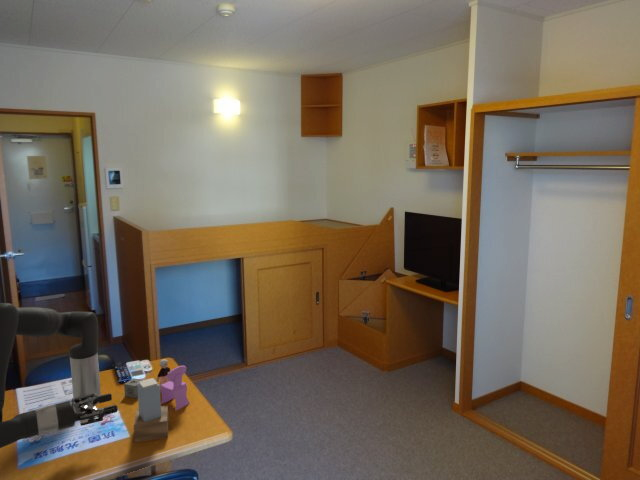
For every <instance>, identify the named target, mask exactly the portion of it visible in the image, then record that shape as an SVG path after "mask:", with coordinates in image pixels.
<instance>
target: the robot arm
mask: <svg viewBox="0 0 640 480" xmlns="http://www.w3.org/2000/svg"><path fill="white" fill-rule="evenodd" d="M16 335H17V336H25V337H35V338H40V337H42V338H43V337H44V338H45V337H46V338H47V337H50V336H53V335H58V336H59V335H60V336H65V337H69V338H81V342H80V343H76V344H75V345H72V346H71V347H69V351H68V352H69V353H68V354H69V362H70V363H69V364H70V373H71V375H70V376H71V385H72V395H73V396H72V398H73V402H72V401H71V400H66V401H62V402H58V403H55V404H50V405H46V406H43V407H41V408H38V409H34V410H30V411H25V412H21V413H19V414H16V415H15V416H13V417H12V418H11V419H8V420H3V410H4V409H3V408H4V405H5V398H6V397H5V396H6V382H7V373H8V368H9V363H10V359H11V356H12V351H13V348H14V343H15V338H16ZM98 348H99V321H98V317H97V314H96V313H95V312H92V311H77V310H76V311H66V312H65V311H64V312H58V311H57V310H55V309H53V308H48V307H39V306H38V307H37V306H29V307H27V306H26V307H25V306H24V307H21V306H20V307H16V306H15V305H14V304H12V303H9V302H0V449H1V448H4V447H6V446H9V445H12V444H13V443H16V442H18V441H20V440H24V439H28V438H32V437H35V436H36V437H37V436H41V435H45V434H46V435H47V434H50V433H53V432H54V433H55V432H58V431H61V430H65V429H68V428H71V427H74V426H75V425H76V421H79V423H80V426H88V425H91V424H94V423H95V424H96V423H99V422H102V421H103V420H104V418H105V416H108V415H111V414H116V413H117V412H118V405H117V404H114V405H108V406H104V407H97V405H98V404H102V403H106V402H111V401H112V399H113V397H112V393H111V392H109V393H105V394H102V392H101V379H100V378H101V377H100V368H99V366H100V365H99V355H98V353H99V352H98V351H99V350H98Z"/></svg>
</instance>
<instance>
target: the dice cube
mask: <svg viewBox="0 0 640 480" xmlns="http://www.w3.org/2000/svg"><path fill="white" fill-rule="evenodd" d="M143 380H144V379H138V378H131V379H130V380H128V381H127V382H125V383H124V385H123V386H124V389H123V390H124V397H126V398H131V399H138V390H137V383H139V382H140V381H143Z"/></svg>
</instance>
